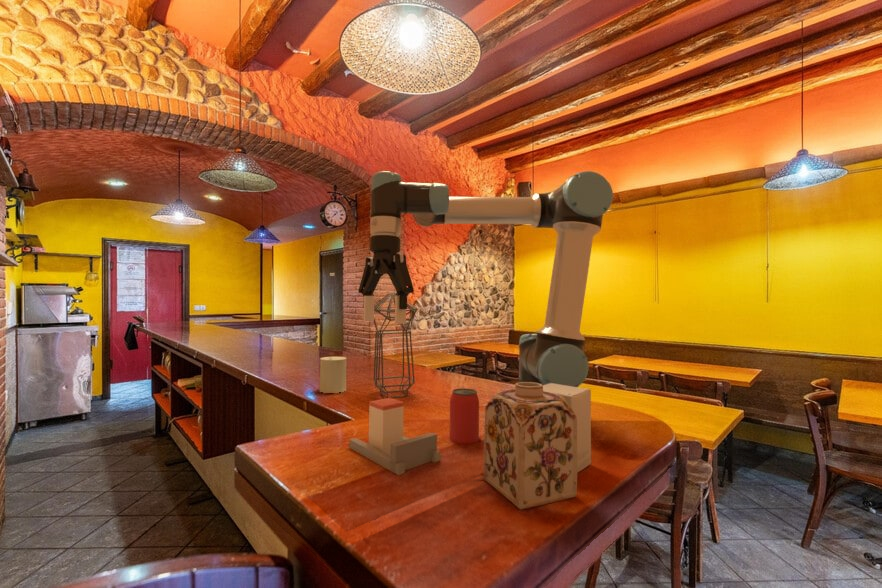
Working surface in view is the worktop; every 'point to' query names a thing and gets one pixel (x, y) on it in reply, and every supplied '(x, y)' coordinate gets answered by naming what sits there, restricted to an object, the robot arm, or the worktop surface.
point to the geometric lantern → (382, 345)
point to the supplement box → (582, 408)
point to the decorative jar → (530, 446)
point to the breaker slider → (385, 423)
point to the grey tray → (401, 452)
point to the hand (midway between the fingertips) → (383, 322)
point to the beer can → (464, 416)
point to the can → (332, 374)
